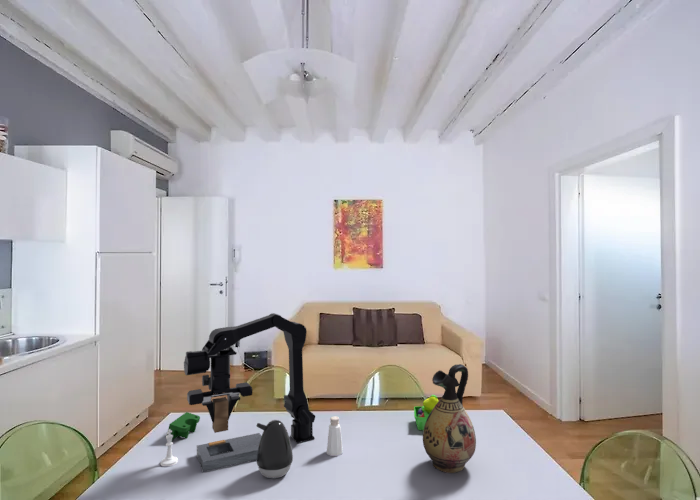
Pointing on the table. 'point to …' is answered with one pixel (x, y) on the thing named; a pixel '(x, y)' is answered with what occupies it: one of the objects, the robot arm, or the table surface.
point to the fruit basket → (424, 411)
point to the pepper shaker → (334, 438)
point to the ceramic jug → (449, 425)
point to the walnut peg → (220, 414)
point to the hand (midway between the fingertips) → (220, 421)
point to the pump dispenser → (274, 450)
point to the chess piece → (169, 452)
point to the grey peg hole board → (237, 452)
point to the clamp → (184, 425)
